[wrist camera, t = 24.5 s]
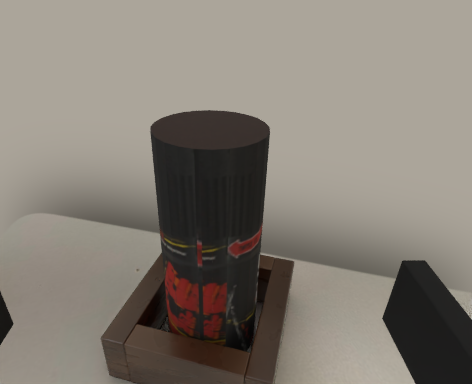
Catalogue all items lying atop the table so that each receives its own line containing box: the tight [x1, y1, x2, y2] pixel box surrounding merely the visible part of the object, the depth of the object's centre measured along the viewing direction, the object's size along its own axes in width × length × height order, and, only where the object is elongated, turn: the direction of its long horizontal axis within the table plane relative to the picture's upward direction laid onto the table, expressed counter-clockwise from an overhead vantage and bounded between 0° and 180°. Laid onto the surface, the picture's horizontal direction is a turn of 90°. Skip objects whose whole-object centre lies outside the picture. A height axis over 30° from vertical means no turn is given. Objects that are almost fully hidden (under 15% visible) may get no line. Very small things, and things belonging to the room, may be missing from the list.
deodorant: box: [151, 110, 270, 352], centre depth 21 cm, size 6×6×15 cm
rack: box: [101, 253, 294, 384], centre depth 24 cm, size 10×10×4 cm
